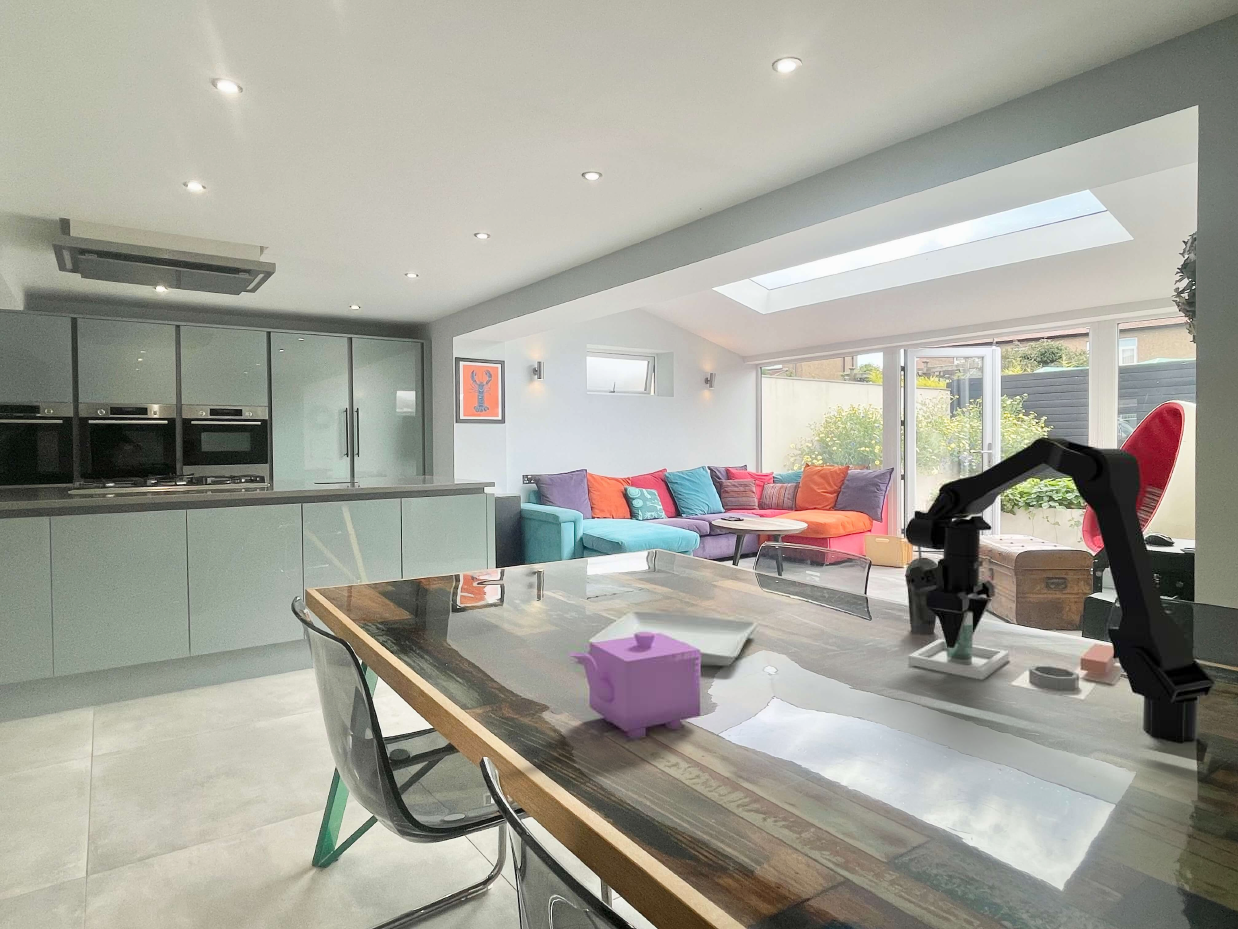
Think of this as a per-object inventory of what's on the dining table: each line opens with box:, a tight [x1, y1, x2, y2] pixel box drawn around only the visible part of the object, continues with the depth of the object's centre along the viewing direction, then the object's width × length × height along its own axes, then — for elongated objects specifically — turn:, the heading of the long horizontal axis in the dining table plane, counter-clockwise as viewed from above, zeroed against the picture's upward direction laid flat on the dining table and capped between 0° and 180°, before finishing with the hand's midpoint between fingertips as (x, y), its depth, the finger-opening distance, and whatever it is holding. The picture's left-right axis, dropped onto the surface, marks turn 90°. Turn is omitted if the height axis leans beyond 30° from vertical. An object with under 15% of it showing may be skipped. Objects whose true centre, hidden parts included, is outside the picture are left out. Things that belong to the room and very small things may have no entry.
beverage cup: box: [904, 547, 938, 635], centre depth 152 cm, size 7×7×20 cm
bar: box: [1080, 643, 1119, 674], centre depth 123 cm, size 12×4×2 cm, turn 137°
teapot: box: [569, 632, 701, 739], centre depth 100 cm, size 20×10×12 cm, turn 120°
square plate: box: [587, 610, 758, 667], centre depth 140 cm, size 27×27×4 cm
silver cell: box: [947, 610, 974, 665], centre depth 127 cm, size 4×4×10 cm
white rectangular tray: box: [907, 638, 1010, 680], centre depth 128 cm, size 15×12×2 cm
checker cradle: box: [1009, 662, 1125, 701], centre depth 121 cm, size 26×12×3 cm, turn 137°
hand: (959, 642), depth 127 cm, fingers open, 9 cm apart
